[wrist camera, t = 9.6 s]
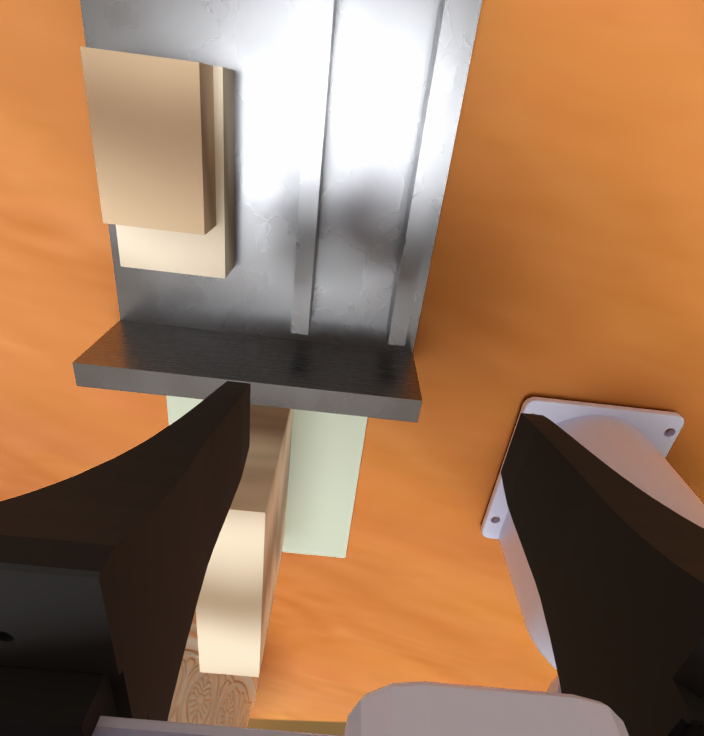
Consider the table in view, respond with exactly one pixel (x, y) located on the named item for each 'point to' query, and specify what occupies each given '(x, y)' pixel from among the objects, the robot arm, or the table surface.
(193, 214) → the offcut upper
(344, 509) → the mat
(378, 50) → the rack
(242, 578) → the wooden block
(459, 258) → the table surface
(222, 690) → the jar
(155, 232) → the offcut lower
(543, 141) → the table surface
